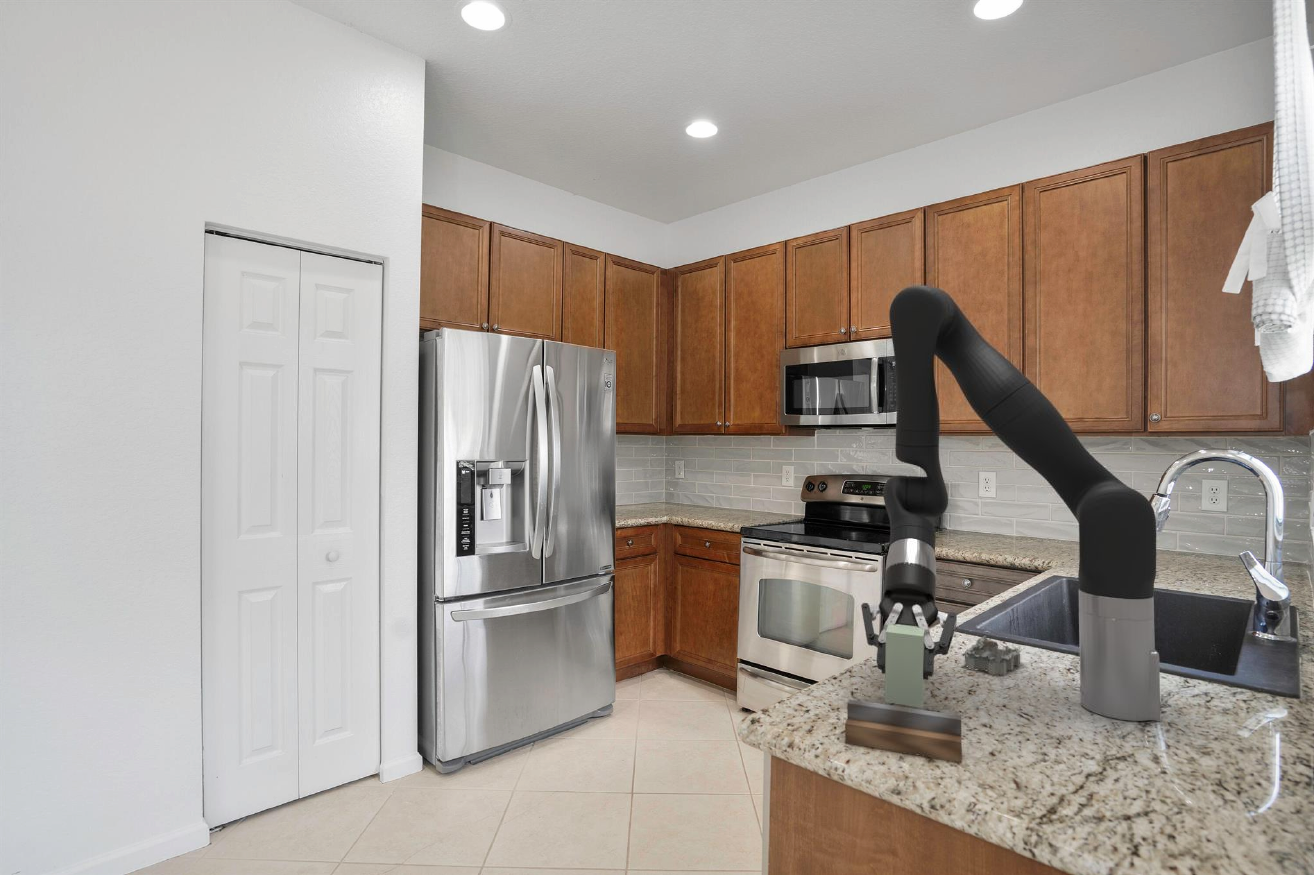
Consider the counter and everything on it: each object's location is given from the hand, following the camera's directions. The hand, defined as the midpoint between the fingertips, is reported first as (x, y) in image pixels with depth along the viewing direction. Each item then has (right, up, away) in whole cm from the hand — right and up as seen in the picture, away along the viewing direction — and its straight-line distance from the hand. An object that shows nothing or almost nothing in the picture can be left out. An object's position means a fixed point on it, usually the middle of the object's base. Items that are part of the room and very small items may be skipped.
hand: (904, 673), depth 95 cm
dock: (-2, -7, -5) cm, 9 cm away
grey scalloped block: (+25, -7, +24) cm, 35 cm away
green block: (+1, -4, +2) cm, 5 cm away
